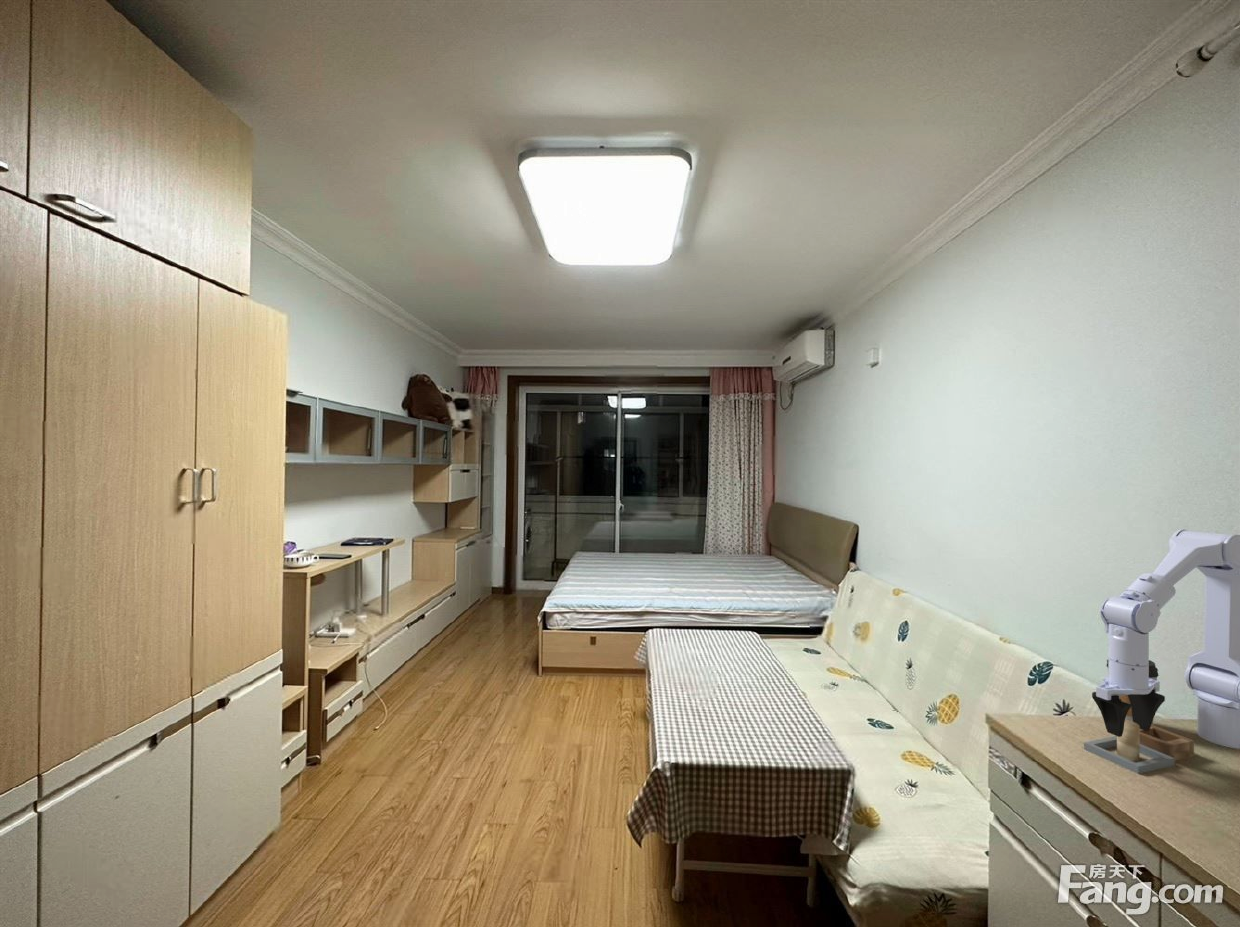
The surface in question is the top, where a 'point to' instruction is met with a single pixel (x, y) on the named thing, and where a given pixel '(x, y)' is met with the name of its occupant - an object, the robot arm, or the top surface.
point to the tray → (1139, 767)
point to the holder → (1167, 743)
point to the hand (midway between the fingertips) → (1128, 731)
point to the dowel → (1129, 741)
